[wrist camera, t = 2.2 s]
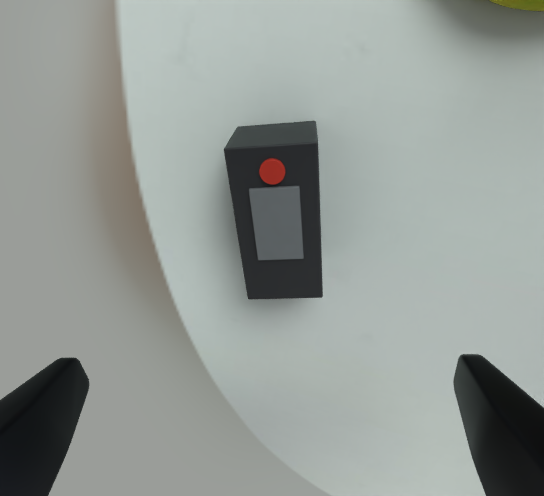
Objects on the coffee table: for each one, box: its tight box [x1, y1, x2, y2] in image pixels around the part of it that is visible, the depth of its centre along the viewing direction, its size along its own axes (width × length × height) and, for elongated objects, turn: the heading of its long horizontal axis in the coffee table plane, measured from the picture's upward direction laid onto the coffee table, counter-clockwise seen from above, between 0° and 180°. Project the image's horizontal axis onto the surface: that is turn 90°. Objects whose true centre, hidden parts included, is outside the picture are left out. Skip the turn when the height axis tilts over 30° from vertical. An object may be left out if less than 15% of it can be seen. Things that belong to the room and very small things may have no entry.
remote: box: [224, 121, 323, 299], centre depth 16 cm, size 7×3×3 cm, turn 5°
